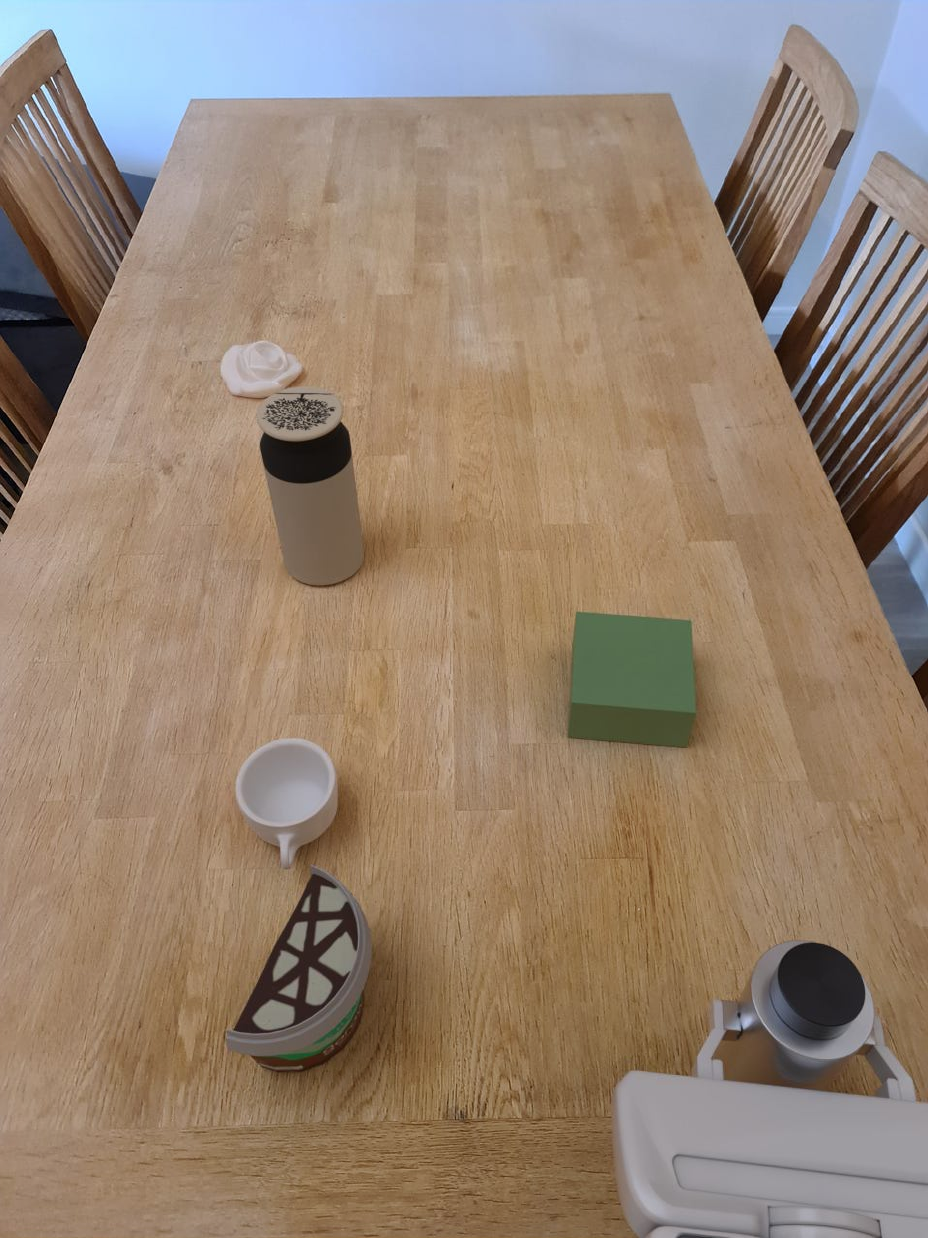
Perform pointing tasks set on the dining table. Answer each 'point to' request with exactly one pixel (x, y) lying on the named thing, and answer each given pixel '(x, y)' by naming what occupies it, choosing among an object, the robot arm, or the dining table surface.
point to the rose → (258, 369)
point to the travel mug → (311, 484)
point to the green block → (632, 679)
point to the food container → (309, 983)
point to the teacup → (288, 794)
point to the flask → (799, 1018)
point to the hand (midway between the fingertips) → (791, 1010)
